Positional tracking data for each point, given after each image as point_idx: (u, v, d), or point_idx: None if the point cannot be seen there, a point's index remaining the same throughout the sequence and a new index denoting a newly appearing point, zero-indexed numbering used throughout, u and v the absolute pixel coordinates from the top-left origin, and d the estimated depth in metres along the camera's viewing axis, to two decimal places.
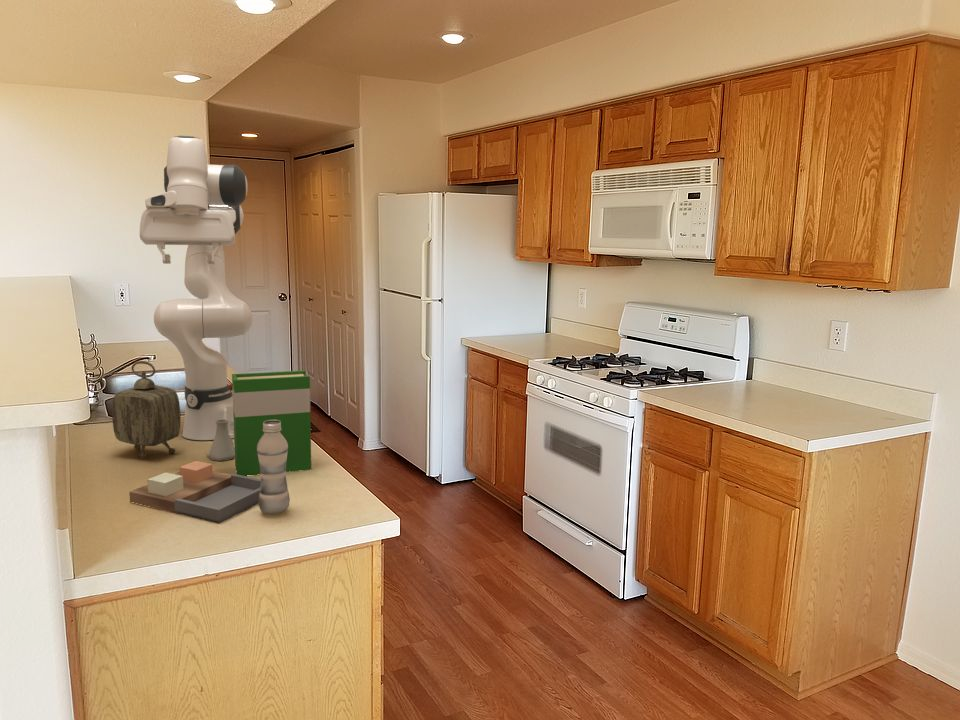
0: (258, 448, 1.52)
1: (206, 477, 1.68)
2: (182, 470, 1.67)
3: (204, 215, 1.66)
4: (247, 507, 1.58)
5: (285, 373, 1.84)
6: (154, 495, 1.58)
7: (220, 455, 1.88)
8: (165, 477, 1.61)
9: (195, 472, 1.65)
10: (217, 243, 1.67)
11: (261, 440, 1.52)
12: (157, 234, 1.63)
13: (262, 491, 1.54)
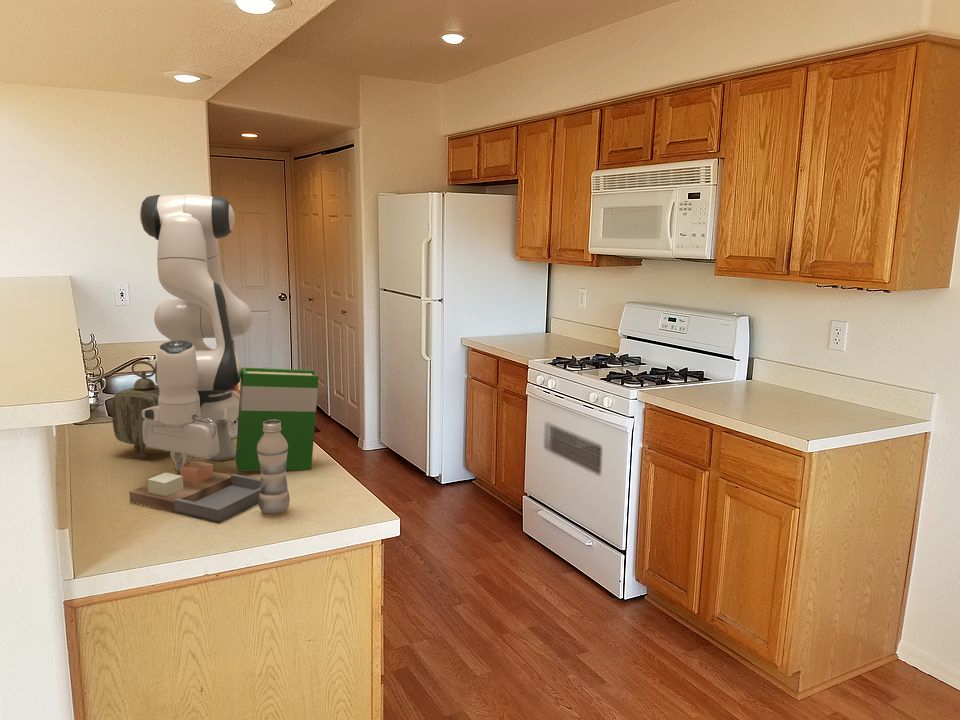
0: (258, 448, 1.52)
1: (206, 477, 1.68)
2: (182, 470, 1.67)
3: (186, 430, 1.65)
4: (247, 507, 1.58)
5: (294, 371, 1.84)
6: (154, 495, 1.58)
7: (221, 454, 1.88)
8: (165, 477, 1.61)
9: (195, 472, 1.65)
10: (185, 454, 1.67)
11: (261, 440, 1.52)
12: (154, 443, 1.70)
13: (262, 491, 1.54)
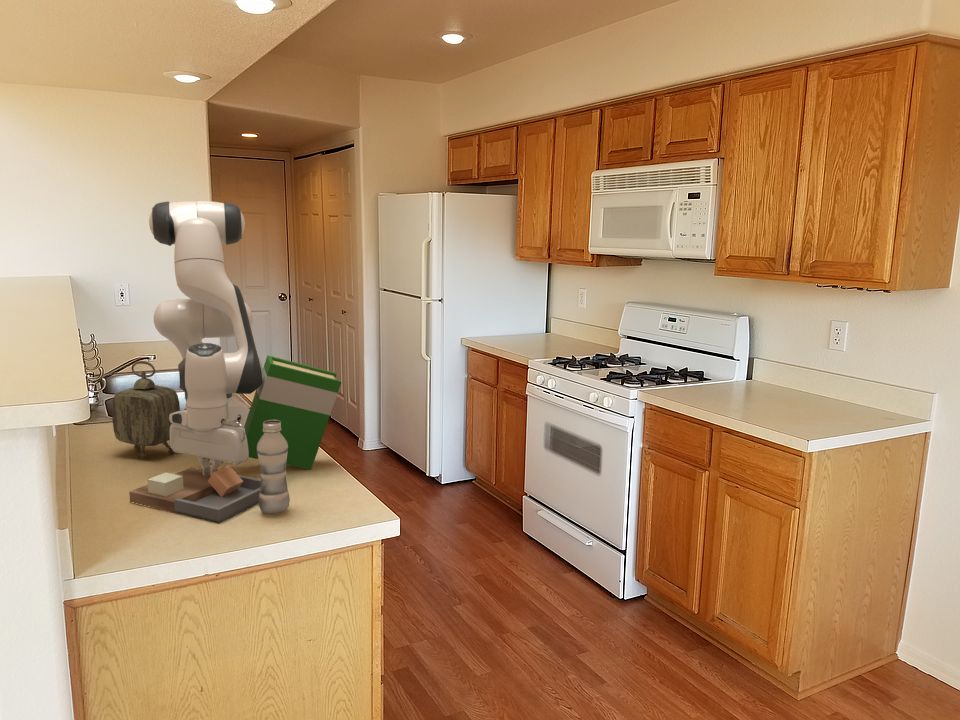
0: (258, 448, 1.52)
1: (232, 491, 1.65)
2: (214, 476, 1.63)
3: (215, 434, 1.61)
4: (247, 507, 1.58)
5: (317, 370, 1.84)
6: (154, 495, 1.58)
7: None
8: (165, 477, 1.61)
9: (225, 488, 1.62)
10: (213, 460, 1.64)
11: (261, 440, 1.52)
12: (182, 448, 1.66)
13: (262, 491, 1.54)
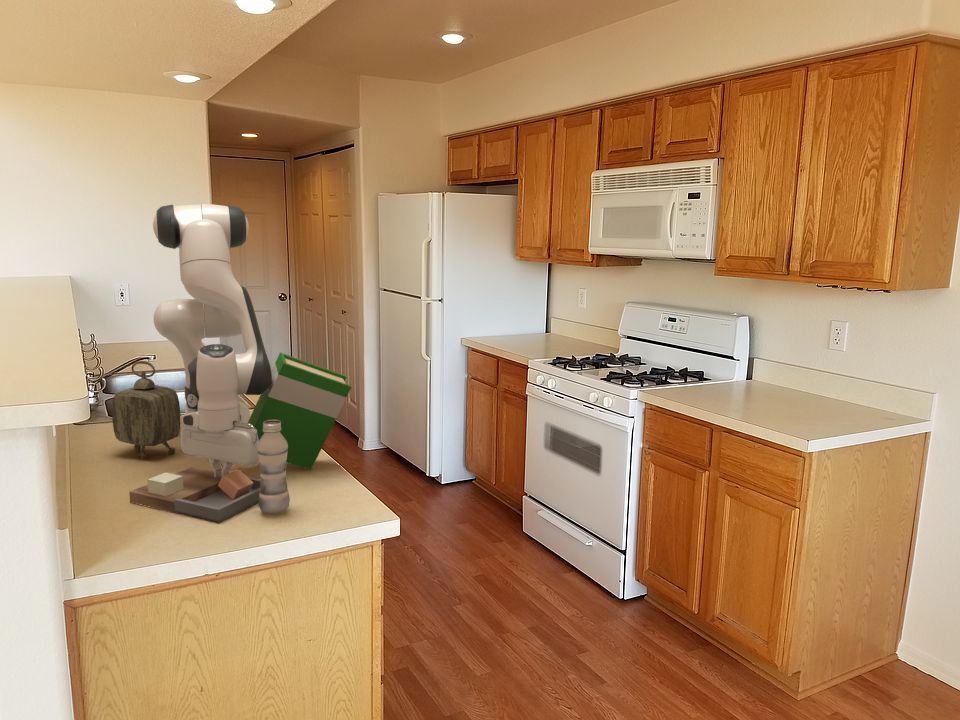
0: (258, 448, 1.52)
1: (243, 494, 1.64)
2: (224, 479, 1.62)
3: (226, 436, 1.60)
4: (247, 507, 1.58)
5: (328, 371, 1.83)
6: (154, 495, 1.58)
7: None
8: (165, 477, 1.61)
9: (236, 490, 1.61)
10: (225, 462, 1.62)
11: (261, 440, 1.52)
12: (193, 450, 1.65)
13: (262, 491, 1.54)
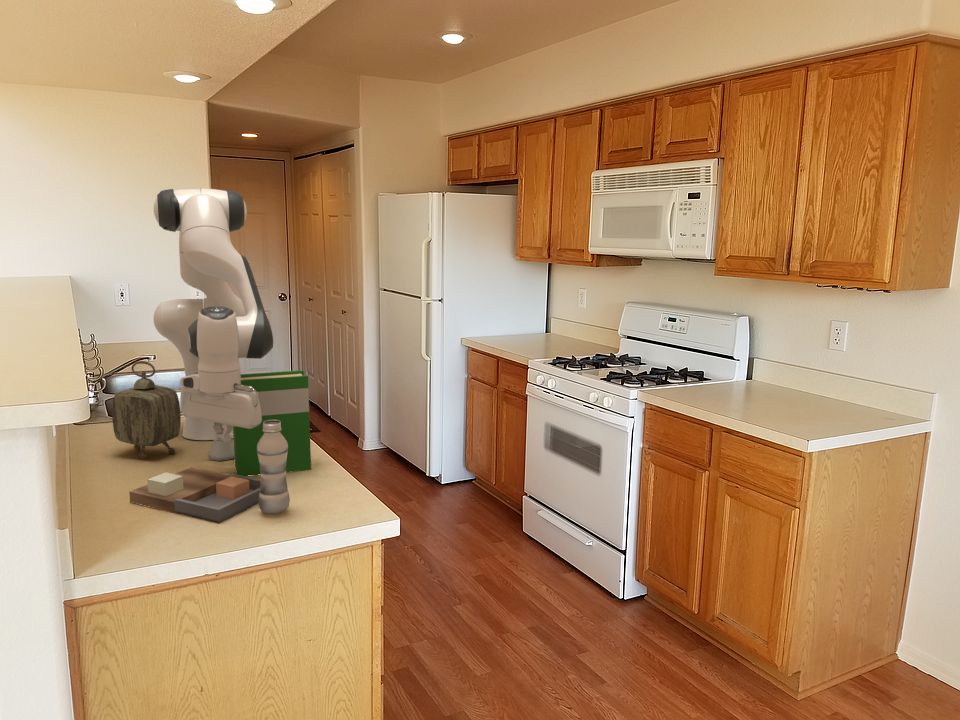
0: (258, 448, 1.52)
1: (243, 493, 1.64)
2: (218, 486, 1.63)
3: (227, 399, 1.59)
4: (247, 507, 1.58)
5: (283, 373, 1.83)
6: (154, 495, 1.58)
7: (221, 454, 1.88)
8: (165, 477, 1.61)
9: (232, 488, 1.61)
10: (226, 424, 1.62)
11: (261, 440, 1.52)
12: (193, 412, 1.64)
13: (262, 491, 1.54)
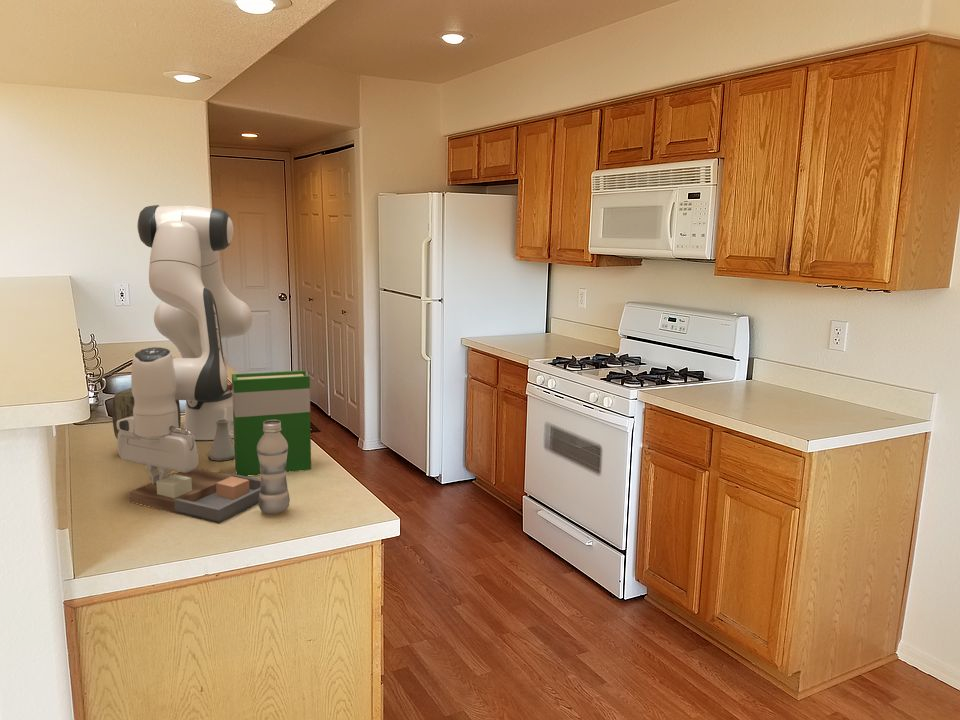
0: (258, 448, 1.52)
1: (243, 493, 1.64)
2: (218, 486, 1.63)
3: (163, 442, 1.56)
4: (247, 507, 1.58)
5: (285, 373, 1.84)
6: (154, 495, 1.58)
7: (221, 455, 1.88)
8: (173, 479, 1.60)
9: (232, 488, 1.61)
10: (162, 468, 1.58)
11: (261, 440, 1.52)
12: (130, 456, 1.61)
13: (262, 491, 1.54)
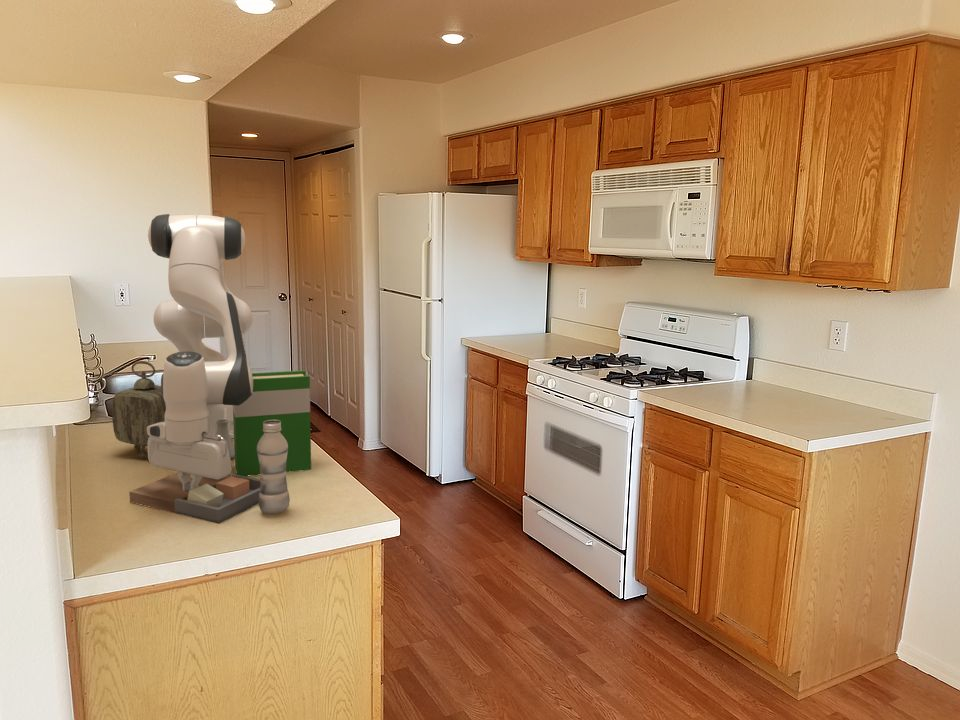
0: (258, 448, 1.52)
1: (243, 493, 1.64)
2: (218, 486, 1.63)
3: (195, 448, 1.53)
4: (247, 507, 1.58)
5: (285, 373, 1.84)
6: (154, 495, 1.58)
7: None
8: (206, 491, 1.56)
9: (232, 488, 1.61)
10: (194, 475, 1.55)
11: (261, 440, 1.52)
12: (160, 462, 1.57)
13: (262, 491, 1.54)
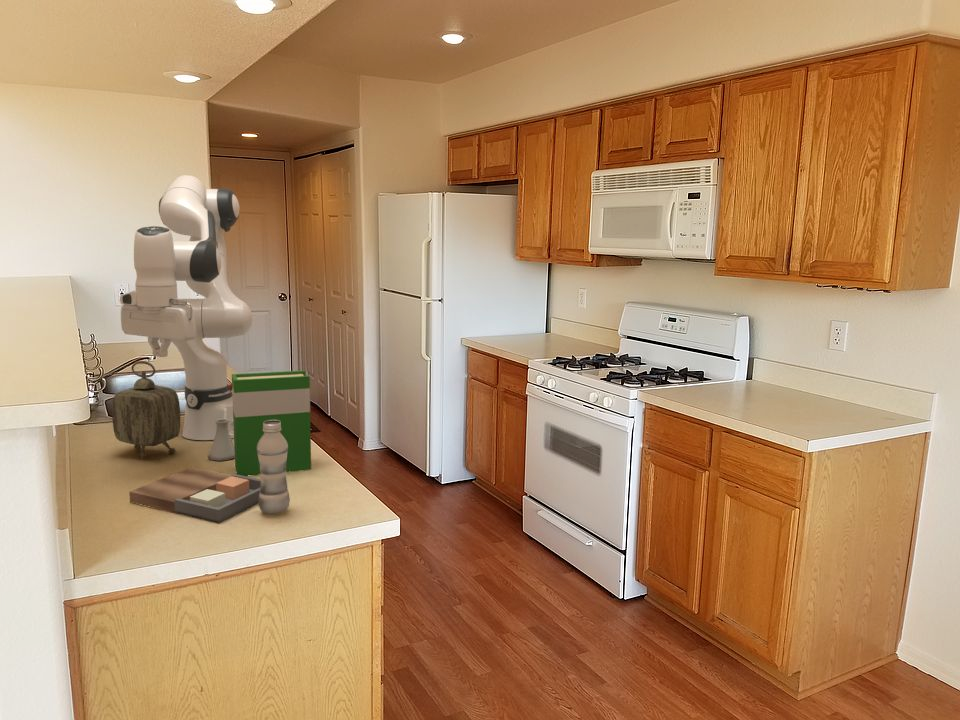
0: (258, 448, 1.52)
1: (243, 493, 1.64)
2: (218, 486, 1.63)
3: (163, 313, 1.68)
4: (247, 507, 1.58)
5: (285, 373, 1.84)
6: (154, 495, 1.58)
7: (221, 454, 1.88)
8: (207, 494, 1.57)
9: (232, 488, 1.61)
10: (163, 339, 1.70)
11: (261, 440, 1.52)
12: (132, 329, 1.72)
13: (262, 491, 1.54)
